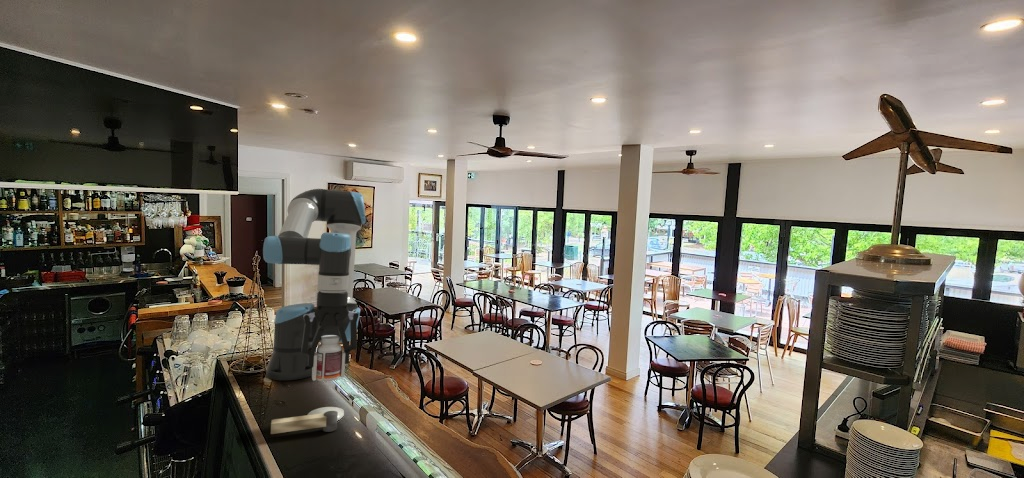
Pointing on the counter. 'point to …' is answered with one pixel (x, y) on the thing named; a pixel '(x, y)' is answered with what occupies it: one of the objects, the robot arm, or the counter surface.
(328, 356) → the pill bottle
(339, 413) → the seat pad
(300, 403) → the counter surface
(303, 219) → the robot arm
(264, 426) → the counter surface
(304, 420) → the hinged leg
